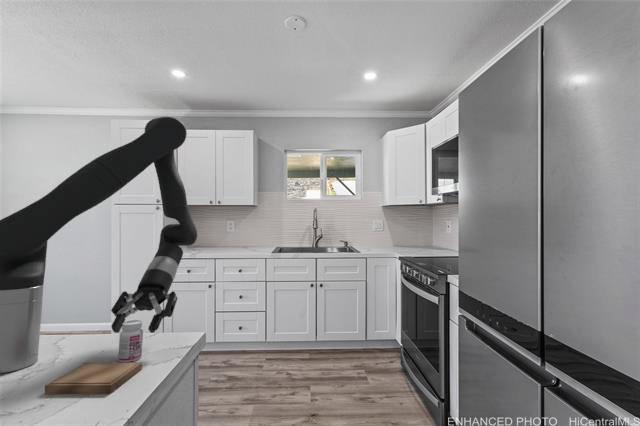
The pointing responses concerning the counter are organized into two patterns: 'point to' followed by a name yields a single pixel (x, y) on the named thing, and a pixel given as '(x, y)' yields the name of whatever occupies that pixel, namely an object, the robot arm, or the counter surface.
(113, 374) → the walnut tray
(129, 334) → the pill bottle
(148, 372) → the counter surface
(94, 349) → the counter surface
